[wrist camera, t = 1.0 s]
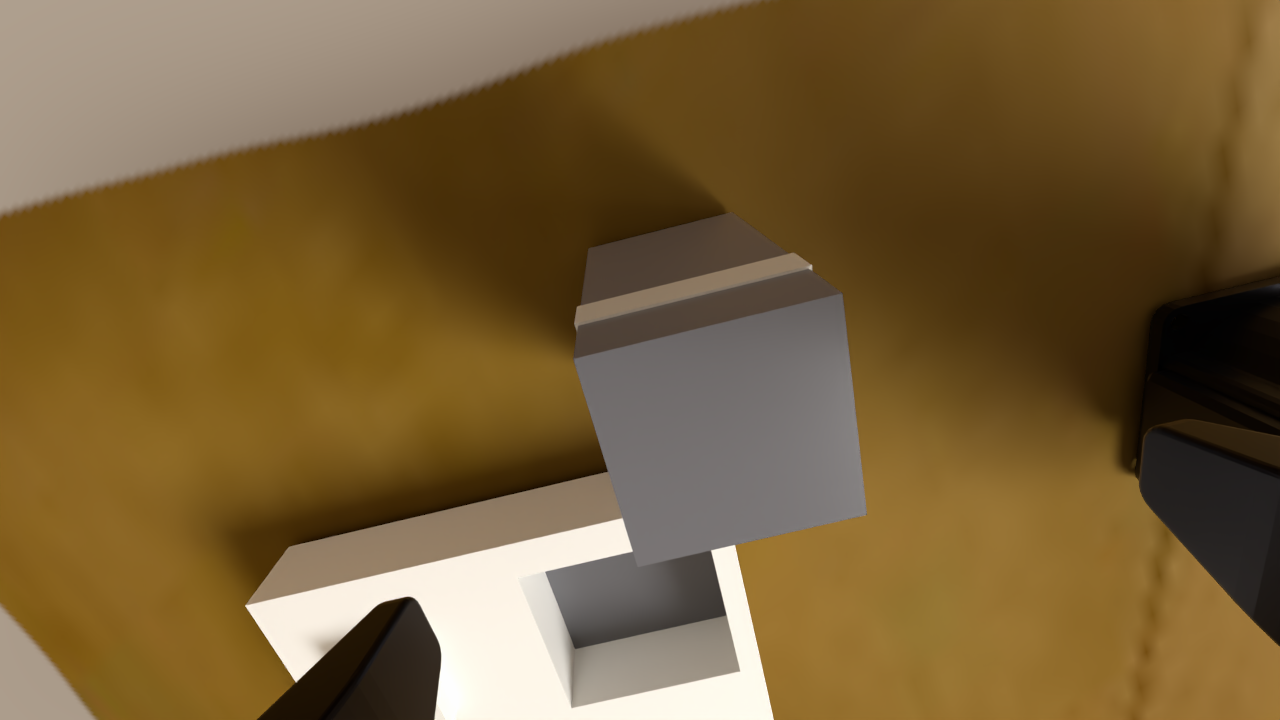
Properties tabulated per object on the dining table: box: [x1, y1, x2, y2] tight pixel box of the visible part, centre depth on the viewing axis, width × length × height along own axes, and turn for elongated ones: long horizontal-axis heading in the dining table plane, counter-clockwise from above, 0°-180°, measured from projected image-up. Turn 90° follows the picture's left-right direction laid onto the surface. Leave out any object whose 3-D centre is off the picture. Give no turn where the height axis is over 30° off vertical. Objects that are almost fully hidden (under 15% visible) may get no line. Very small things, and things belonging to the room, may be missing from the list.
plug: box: [573, 212, 867, 567], centre depth 13 cm, size 4×4×8 cm
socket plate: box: [245, 472, 774, 720], centre depth 19 cm, size 14×11×3 cm
